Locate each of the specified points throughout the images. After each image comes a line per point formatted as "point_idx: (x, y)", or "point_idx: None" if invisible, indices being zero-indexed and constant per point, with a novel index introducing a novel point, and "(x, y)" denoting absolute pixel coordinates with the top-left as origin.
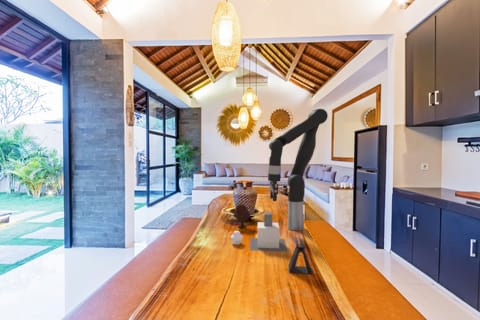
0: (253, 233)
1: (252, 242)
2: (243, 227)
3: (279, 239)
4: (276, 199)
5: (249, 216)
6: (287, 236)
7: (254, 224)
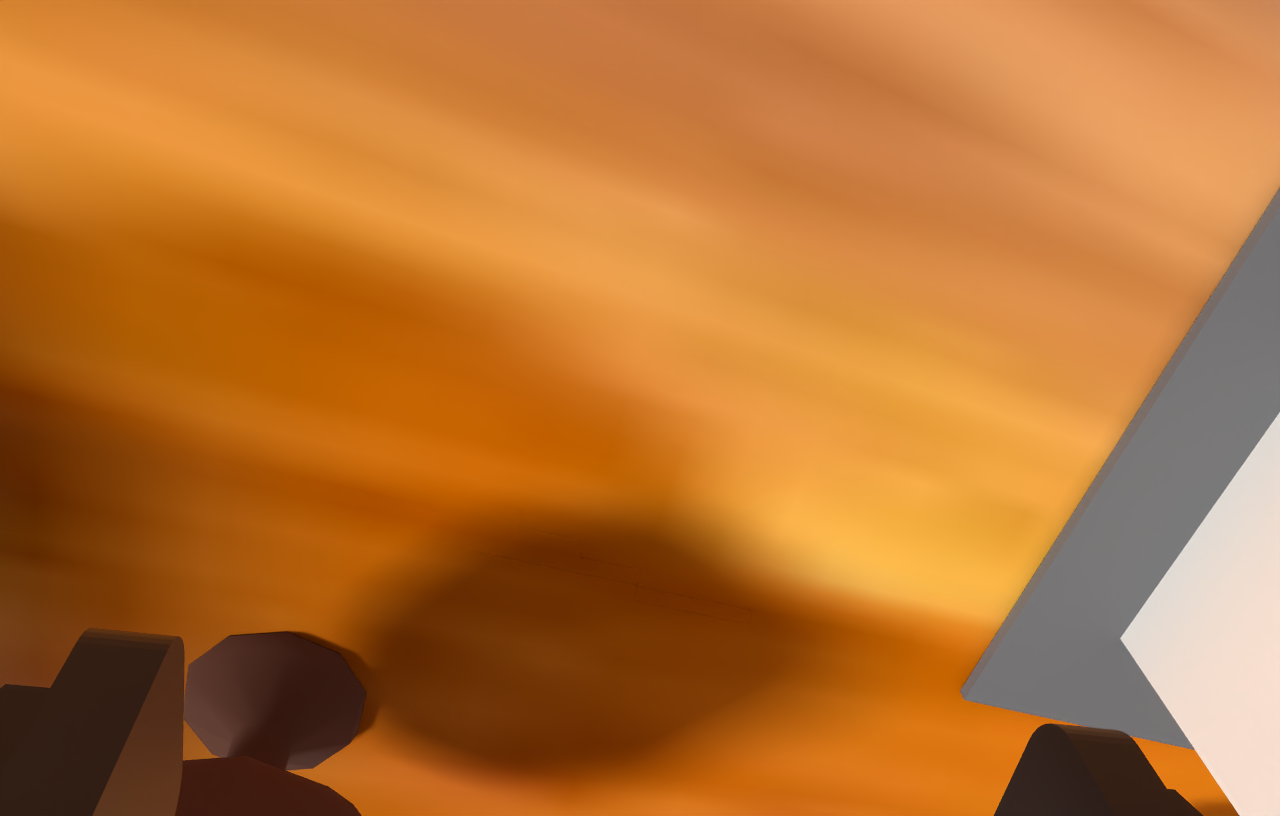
0: (710, 600)
1: (1167, 717)
2: (353, 706)
3: (1278, 290)
4: (1167, 799)
5: (294, 793)
6: (1155, 14)
7: (54, 442)
